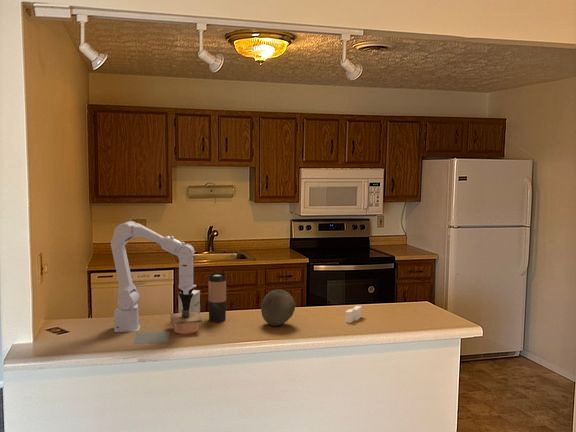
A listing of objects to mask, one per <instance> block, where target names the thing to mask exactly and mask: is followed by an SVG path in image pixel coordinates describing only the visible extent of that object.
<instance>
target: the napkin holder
mask: <svg viewBox="0 0 576 432" xmlns="http://www.w3.org/2000/svg"><path fill="white" fill-rule="evenodd" d="M362 310H363V309H362V305H356V306H354V307H352V308H349V309H347V310H345V315H344V317H345V318H344V319H345V320H344V323H347V324H351V323H352V322H354V321H355V322H357V321H358V320H360V318H362Z"/></svg>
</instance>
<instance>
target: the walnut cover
mask: <svg viewBox="0 0 576 432" xmlns="http://www.w3.org/2000/svg"><path fill="white" fill-rule="evenodd" d="M169 317H170V325H174V324H182V323H199V324H200V323H202V322H203V319H202V315H201V311H200V312H193V313H189V311H184V310H183V309H182V313H179V312H176V313H169Z"/></svg>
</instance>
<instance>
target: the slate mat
mask: <svg viewBox="0 0 576 432" xmlns="http://www.w3.org/2000/svg"><path fill="white" fill-rule="evenodd" d="M170 334H171V331H150V332H149V331H148V332H136V334H135V335H134V339H133V342H132V345H135V344H138V345H139V344H160V343H162V344H163V343H169V340H170Z"/></svg>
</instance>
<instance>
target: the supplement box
mask: <svg viewBox="0 0 576 432" xmlns="http://www.w3.org/2000/svg"><path fill="white" fill-rule="evenodd" d="M179 293H181V291H180V292H179ZM179 293H178V295H177V296H178V299H177V300H178V301H177V302H178V313H182V309H183V306H182V301H181V298H180V296H179ZM192 293H193V296H192V298H191V302H190V308H189V313H193V312H200V313H201V290H199V289H198V290H197V289H193V291H192Z"/></svg>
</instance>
